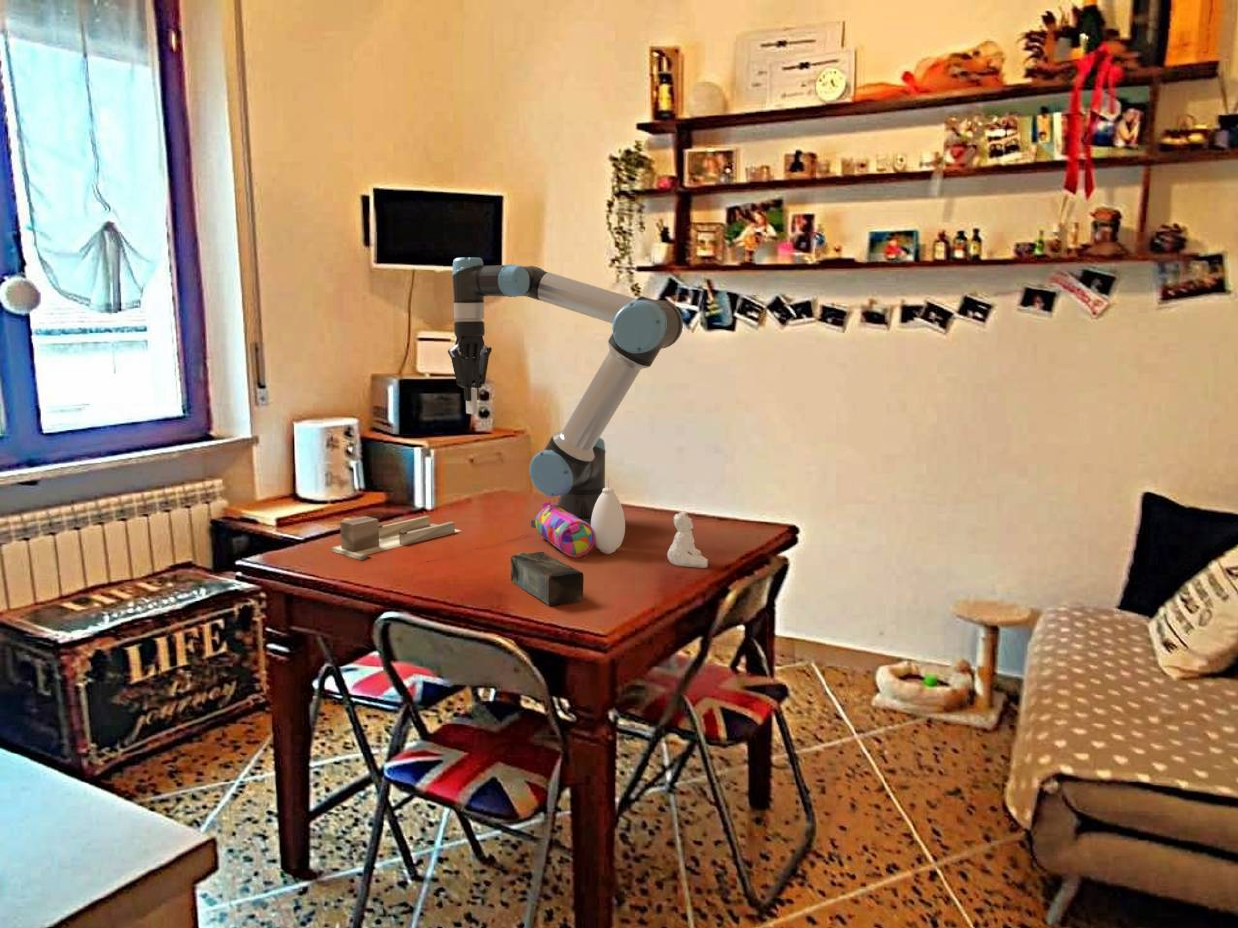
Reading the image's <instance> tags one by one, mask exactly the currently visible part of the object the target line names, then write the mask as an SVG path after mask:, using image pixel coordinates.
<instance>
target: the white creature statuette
mask: <svg viewBox="0 0 1238 928" xmlns="http://www.w3.org/2000/svg"><path fill="white" fill-rule="evenodd" d="M692 520H693V519H692V518H691V517H689V515H688V512H687V511H684V510H682V511H680V512H679V513H676V514H675V515H674V516H673V525H674V527H675V529H676V530H677V531H676V533H675V534H674V536H673V541H672V544H671V545H670V547H669V548H668V551H667V553H666V556H667V559H668V560H669V563H671V564H672V565H674V566H678V567H689V568H700V569H705V568H708V563H709V562H708V561H709V559H708V558H706V557H704V556H703V555H702V552H701V550H700V549H698V548H696V545H695V542H696V541H695V538H694V536H693V531H692V529H694V525H693V522H692Z"/></svg>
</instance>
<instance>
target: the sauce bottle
mask: <svg viewBox="0 0 1238 928" xmlns="http://www.w3.org/2000/svg"><path fill="white" fill-rule="evenodd" d="M614 491H615V490H614V488H611V487H610V478H609V477H607V479H606V487H605V488H604V489H602V493H601V495H600V496H599V497H598V499H597V501H596V504H595V506H594V509H593V513H592V517H591V527H592V529H593V531H594V535H595V542H594V546H595V547H596V549H599V551H600V552H601V553H603V554H605V555H610V554H612V553H614V552H616V550H617V549H619V548H620V547H621V545H622V543H623V540H624V538H625V533H626V521H625V520H626V518H625V513H624V509H623V507H622V504H621V502H620V500H619V498H618V496H617V494H616V493H615V492H614Z"/></svg>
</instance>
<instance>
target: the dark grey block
mask: <svg viewBox="0 0 1238 928" xmlns="http://www.w3.org/2000/svg"><path fill="white" fill-rule="evenodd" d="M584 580H585V579H584V573H583V572H582V571H580V570H579V569H576V568H574V567H572V566H570V565H568V564H566V563H564V562H563V561H560V560H558V559H557V558H555V557H552V556H551V555H549V554H547V553H545V552H544V551H537V552H530V553H528V552H527V553H526V552H519V553H517V554H515V555H511V556H510V582H511V583H513V584H514V585H516V586H517V587H519V588H520V589H521V590H523V591H525V592H527V593H528V594H530V595H532V596H533V597H535V598H537V599H538V600H540V601H542V602H543V603H544V604H546V605H547V606H549V607H551V606H552V607H553V606H558V605H564V604H571V603H579V602H582V601H583V598H584Z"/></svg>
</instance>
